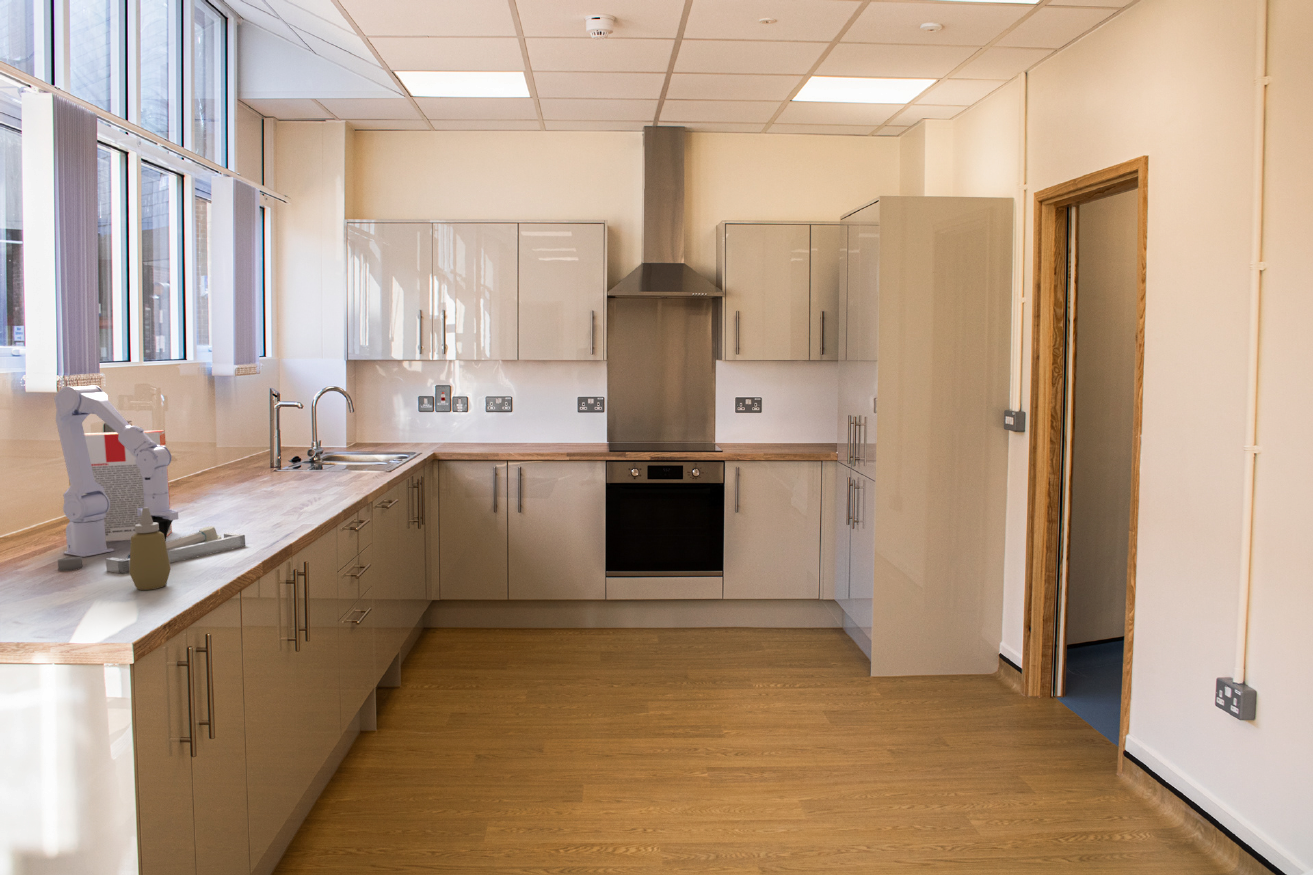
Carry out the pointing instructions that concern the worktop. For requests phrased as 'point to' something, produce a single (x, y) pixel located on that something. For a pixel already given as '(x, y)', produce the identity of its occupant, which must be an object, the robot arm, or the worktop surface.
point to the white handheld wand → (193, 538)
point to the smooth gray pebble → (70, 563)
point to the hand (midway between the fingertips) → (159, 545)
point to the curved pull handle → (184, 552)
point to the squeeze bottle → (148, 555)
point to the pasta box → (119, 481)
